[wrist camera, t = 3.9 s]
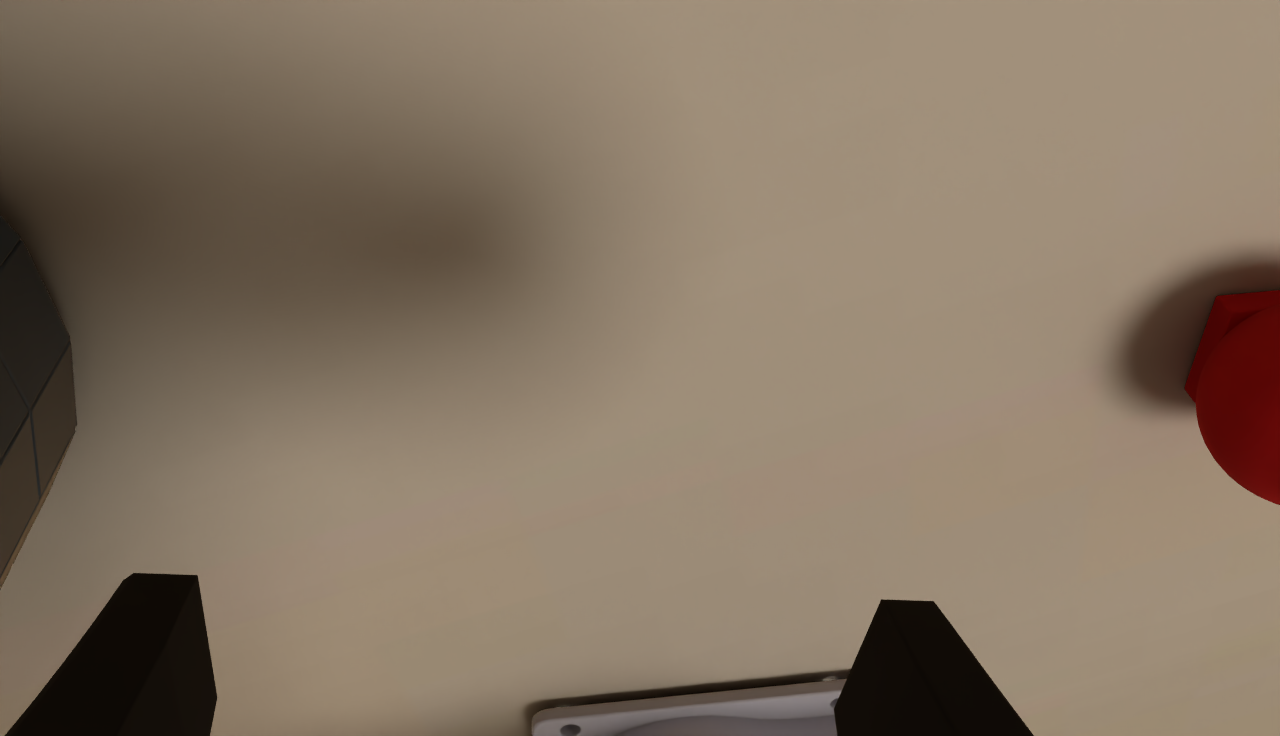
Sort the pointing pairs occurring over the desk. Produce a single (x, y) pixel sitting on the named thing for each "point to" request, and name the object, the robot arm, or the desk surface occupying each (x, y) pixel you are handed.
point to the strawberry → (1241, 389)
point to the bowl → (29, 395)
